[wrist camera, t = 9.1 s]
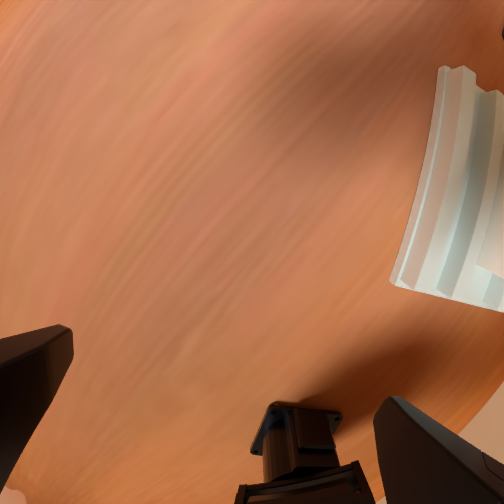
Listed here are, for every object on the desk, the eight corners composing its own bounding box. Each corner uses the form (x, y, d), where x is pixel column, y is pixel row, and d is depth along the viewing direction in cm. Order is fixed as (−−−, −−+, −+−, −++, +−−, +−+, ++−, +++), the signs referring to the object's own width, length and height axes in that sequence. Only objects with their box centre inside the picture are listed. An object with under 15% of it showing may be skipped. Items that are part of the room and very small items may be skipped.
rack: (501, 309, 20) (521, 322, 17) (388, 280, 19) (408, 297, 16) (541, 146, 16) (563, 147, 14) (438, 68, 15) (461, 57, 13)
